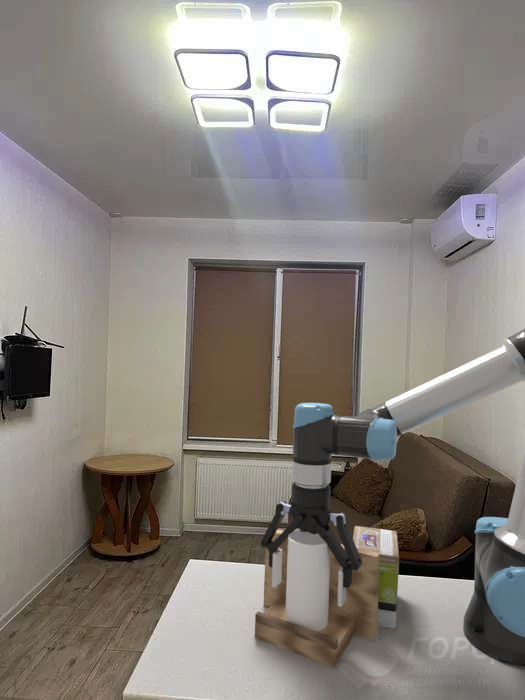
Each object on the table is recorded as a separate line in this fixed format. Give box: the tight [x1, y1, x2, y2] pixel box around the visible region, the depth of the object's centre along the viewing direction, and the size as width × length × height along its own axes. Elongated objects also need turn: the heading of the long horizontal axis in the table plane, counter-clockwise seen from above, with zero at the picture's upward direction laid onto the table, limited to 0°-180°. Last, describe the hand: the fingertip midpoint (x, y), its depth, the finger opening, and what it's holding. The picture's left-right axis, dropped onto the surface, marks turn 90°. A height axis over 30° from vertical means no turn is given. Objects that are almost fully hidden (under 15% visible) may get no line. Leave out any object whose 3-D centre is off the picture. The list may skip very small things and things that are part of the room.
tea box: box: [352, 525, 400, 629], centre depth 100 cm, size 15×10×15 cm, turn 166°
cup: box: [285, 528, 330, 631], centre depth 89 cm, size 8×8×16 cm
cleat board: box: [254, 528, 380, 668], centre depth 89 cm, size 24×13×16 cm, turn 62°
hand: (308, 593), depth 89 cm, fingers open, 13 cm apart
